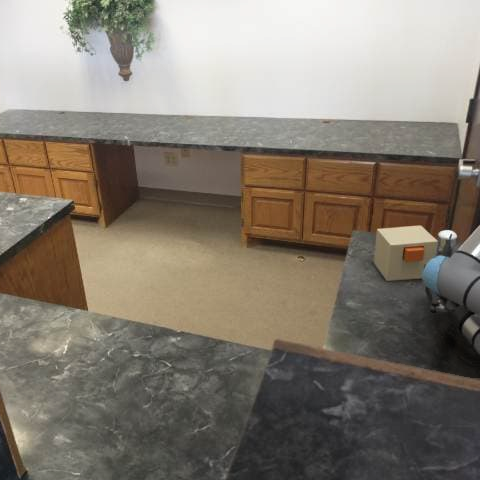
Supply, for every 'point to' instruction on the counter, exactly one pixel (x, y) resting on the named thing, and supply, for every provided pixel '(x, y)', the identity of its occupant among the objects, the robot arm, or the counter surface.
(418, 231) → the beige box with handle
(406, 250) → the orange block
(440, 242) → the milkshake
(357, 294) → the counter surface
